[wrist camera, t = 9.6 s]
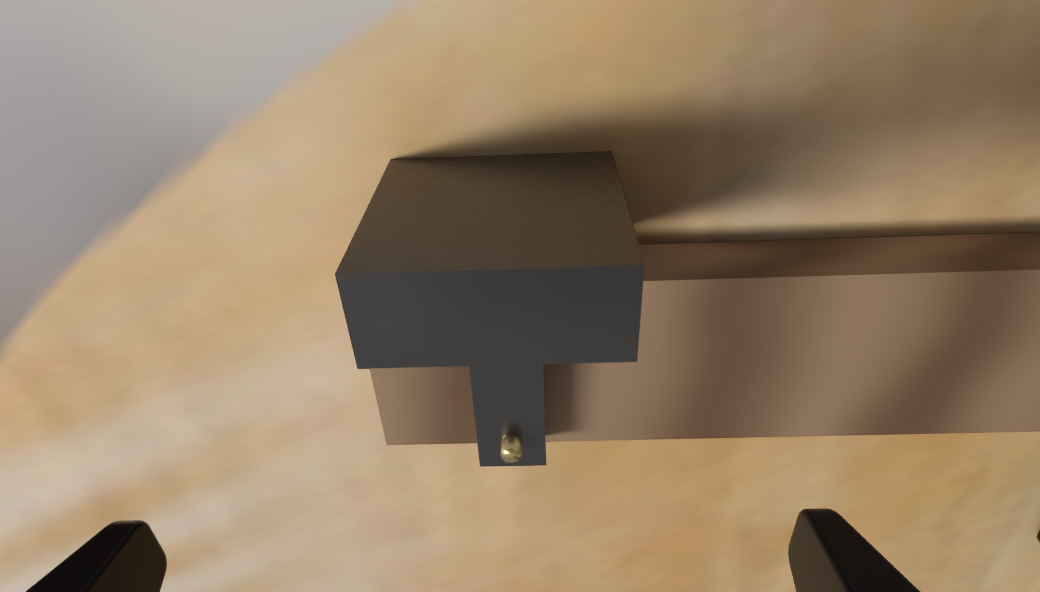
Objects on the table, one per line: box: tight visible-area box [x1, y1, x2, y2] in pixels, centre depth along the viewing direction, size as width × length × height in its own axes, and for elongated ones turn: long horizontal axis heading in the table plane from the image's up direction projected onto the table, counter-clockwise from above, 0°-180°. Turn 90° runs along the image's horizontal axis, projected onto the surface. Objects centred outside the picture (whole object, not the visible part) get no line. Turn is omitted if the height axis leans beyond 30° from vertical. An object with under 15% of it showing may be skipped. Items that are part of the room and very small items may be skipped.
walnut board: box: [370, 232, 1040, 445], centre depth 19 cm, size 22×6×2 cm, turn 92°
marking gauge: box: [335, 151, 645, 466], centre depth 17 cm, size 6×9×6 cm
